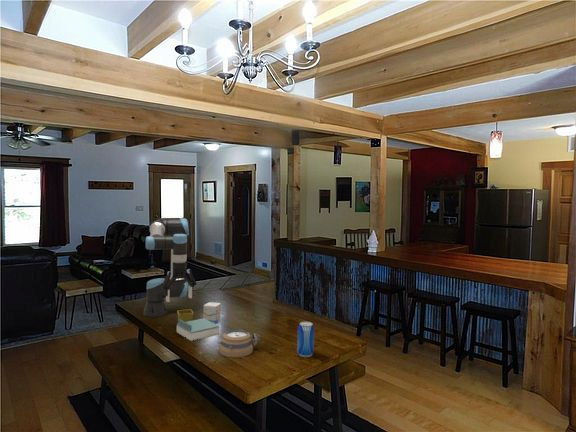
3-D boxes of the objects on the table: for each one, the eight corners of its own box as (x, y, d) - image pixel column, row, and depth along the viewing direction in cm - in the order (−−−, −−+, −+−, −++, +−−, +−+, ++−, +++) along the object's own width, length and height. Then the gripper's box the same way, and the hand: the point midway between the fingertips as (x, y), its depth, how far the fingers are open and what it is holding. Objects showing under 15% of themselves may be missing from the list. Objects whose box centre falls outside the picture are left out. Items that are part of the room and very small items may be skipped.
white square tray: (176, 332, 225) (176, 325, 225) (203, 326, 236) (203, 319, 236) (191, 341, 211) (191, 333, 211) (219, 334, 223) (219, 327, 223)
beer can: (296, 351, 201) (297, 321, 200) (312, 351, 201) (313, 321, 201) (298, 358, 192) (298, 326, 192) (314, 357, 193) (315, 326, 192)
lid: (176, 324, 225) (177, 318, 224) (203, 319, 236) (203, 313, 236) (191, 333, 211) (191, 326, 211) (218, 327, 223) (219, 320, 223)
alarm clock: (212, 333, 198) (246, 323, 216) (212, 351, 199) (245, 339, 216) (234, 342, 187) (268, 330, 204) (234, 360, 187) (267, 347, 205)
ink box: (215, 324, 240) (215, 306, 239) (202, 323, 241) (203, 305, 241) (220, 320, 248) (221, 302, 248) (208, 319, 250) (208, 301, 249)
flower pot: (176, 324, 238) (176, 310, 238) (191, 323, 242) (191, 309, 241) (178, 329, 230) (178, 314, 230) (193, 327, 233) (193, 312, 233)
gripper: (161, 264, 203) (160, 304, 204) (202, 260, 220) (202, 297, 221) (155, 262, 209) (154, 301, 209) (196, 259, 226) (195, 295, 226)
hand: (179, 299), depth 215 cm, fingers open, 13 cm apart
